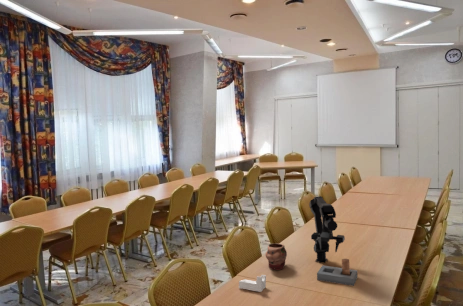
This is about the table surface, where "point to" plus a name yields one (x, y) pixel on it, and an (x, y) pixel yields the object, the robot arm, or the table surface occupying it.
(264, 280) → the bracket
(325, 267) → the hole board
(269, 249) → the decorative planter
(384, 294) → the table surface
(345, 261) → the pin
